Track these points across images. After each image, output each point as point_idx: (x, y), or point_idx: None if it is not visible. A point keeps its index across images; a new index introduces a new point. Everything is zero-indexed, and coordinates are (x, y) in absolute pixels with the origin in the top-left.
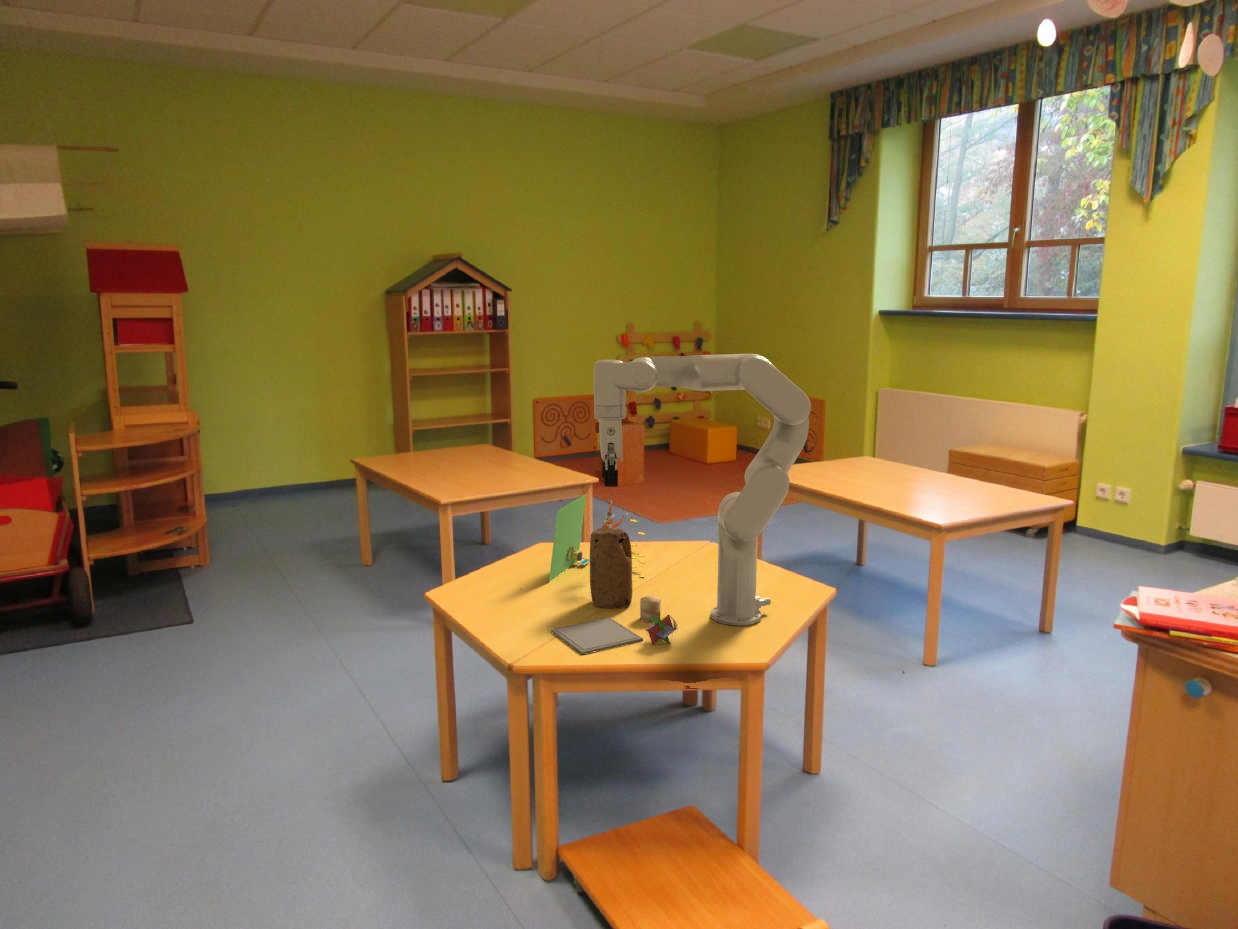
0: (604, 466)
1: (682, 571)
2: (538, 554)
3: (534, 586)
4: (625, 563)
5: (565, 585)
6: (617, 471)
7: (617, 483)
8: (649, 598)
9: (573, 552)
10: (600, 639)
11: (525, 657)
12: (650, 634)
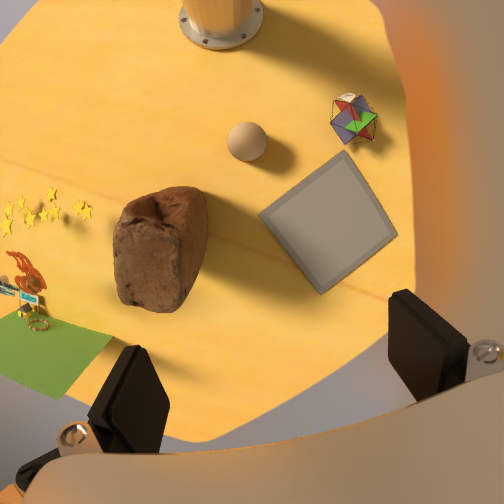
0: (154, 449)
1: (22, 137)
2: None
3: None
4: (192, 203)
5: (115, 311)
6: (459, 335)
7: (411, 295)
8: (240, 143)
9: (27, 320)
10: (356, 214)
11: None
12: (366, 136)
